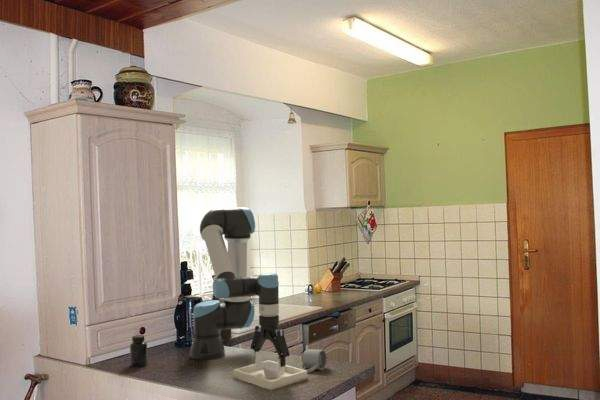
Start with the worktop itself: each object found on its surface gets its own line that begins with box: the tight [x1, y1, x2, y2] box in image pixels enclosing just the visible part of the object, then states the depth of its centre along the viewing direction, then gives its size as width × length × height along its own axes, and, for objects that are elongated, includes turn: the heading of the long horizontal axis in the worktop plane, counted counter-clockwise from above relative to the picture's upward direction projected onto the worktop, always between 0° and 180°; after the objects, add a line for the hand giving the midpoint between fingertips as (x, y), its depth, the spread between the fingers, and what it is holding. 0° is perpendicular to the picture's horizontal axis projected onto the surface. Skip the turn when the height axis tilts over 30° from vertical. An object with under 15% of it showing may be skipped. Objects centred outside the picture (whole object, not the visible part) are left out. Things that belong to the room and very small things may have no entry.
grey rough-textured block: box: [263, 360, 278, 379], centre depth 212 cm, size 10×6×6 cm, turn 169°
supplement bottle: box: [129, 334, 148, 368], centre depth 233 cm, size 7×7×12 cm
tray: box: [232, 359, 308, 391], centre depth 212 cm, size 22×18×3 cm
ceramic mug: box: [301, 348, 328, 374], centre depth 222 cm, size 11×8×8 cm
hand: (269, 371), depth 212 cm, fingers open, 12 cm apart
